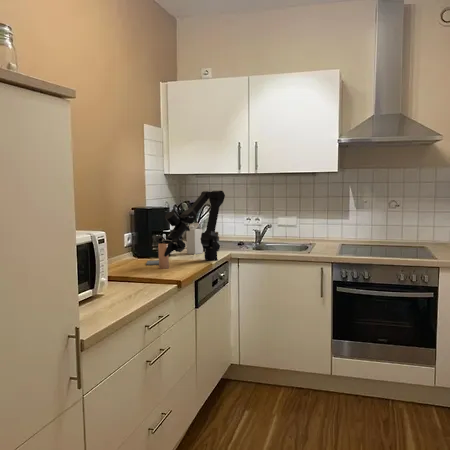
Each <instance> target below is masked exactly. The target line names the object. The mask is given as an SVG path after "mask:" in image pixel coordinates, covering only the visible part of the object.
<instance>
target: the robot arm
mask: <svg viewBox="0 0 450 450" xmlns="http://www.w3.org/2000/svg"><path fill="white" fill-rule="evenodd" d="M225 197H226V194H225V192H224V191H223V190H212V191H209V190H204V191H201V192H200V195H199V196H197V198H196V200H195V201H194V202H193V204H191V206H190V207H188V208H187V209H186V210H185V209H184V211H183V212H181V214H179V213H178V212H177V210H175V209H172V210H171V211H169V212H167V213H166V214H165V216H164V219H165V220H166V221H167V222H168V224H169V225H170V226H171V227H173V228H172V229H170V230H169V234H168V235H165V237H164V236H156V238H155V239H154V240H155V242H156V243H157V244H160V243H168V247H167V249H166V251H165V254H164V256H165V257H166V256H167V255H169V256H170V254H171V253H172V252H174V251H175V252H176V253H177V252H178V253H181V252H183V251H184V250H185V249H186V248H187V245H186V242H184V241H183V234H184V233H185V232H186V231H190V229H189V225H190V224H192V223H195V221H196V220H197V216H198V213H199V211H200V210H201V209H202V208H203V207H204V205H205V204H206V203H207V202H208V200H209V204H210V209H209V214H208V220H207V223H206V229H205V231H202V234H201V239H200V240H201V244H202V246H203V249H206V251H204V260H205V261H207V262H208V261H210V262H211V261H218V260H219V259H218V251H219V250H220V248H221V244H220V243H219V244H218V242H217V241H216V234H215V232H216V228H217V227H216V226H217V223H218V217H219V212H220V207H221V206H222V204H223V203H224V200H225ZM187 224H189V225H187ZM218 249H219V250H218ZM217 250H218V251H217ZM156 254H157V256H158V257H159V250H158V249H157V253H156Z"/></svg>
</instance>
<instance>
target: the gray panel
mask: <svg viewBox="0 0 450 450" xmlns="http://www.w3.org/2000/svg"><path fill="white" fill-rule="evenodd" d="M145 264H146V265H145V266H159V259H158V260H155V259H154V260H146V263H145Z"/></svg>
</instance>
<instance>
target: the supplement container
mask: <svg viewBox="0 0 450 450" xmlns="http://www.w3.org/2000/svg"><path fill="white" fill-rule="evenodd" d="M215 234H216V241H217V242H218V244H219V245H220V236H219V231H215ZM205 251H206V249H203V252H205ZM219 251H220V248H219V249H218V250H217V252H219Z"/></svg>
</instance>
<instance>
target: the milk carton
mask: <svg viewBox="0 0 450 450" xmlns="http://www.w3.org/2000/svg"><path fill="white" fill-rule="evenodd" d="M188 226H189V229H190V231H185V232H186V237H185V238H186V254H187V255H188V254H189V255H199V254H204V250H203V246H202V244H201V240H200V239H201V234H202V232H203V228H202V227H201V226H200V225H199V222H193V223H192V224H189V225H188Z"/></svg>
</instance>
